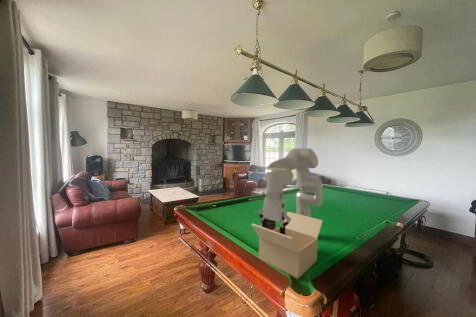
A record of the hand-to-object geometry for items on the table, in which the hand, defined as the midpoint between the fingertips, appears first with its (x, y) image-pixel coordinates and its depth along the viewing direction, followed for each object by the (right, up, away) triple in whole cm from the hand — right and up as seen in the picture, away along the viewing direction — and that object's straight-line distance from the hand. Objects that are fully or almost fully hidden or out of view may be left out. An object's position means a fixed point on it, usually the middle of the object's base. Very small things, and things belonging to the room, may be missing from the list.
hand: (272, 231), depth 85 cm
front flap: (+1, -3, +1) cm, 3 cm away
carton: (+10, -19, +11) cm, 24 cm away
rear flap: (+21, -4, +22) cm, 30 cm away
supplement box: (+2, -19, +28) cm, 35 cm away
